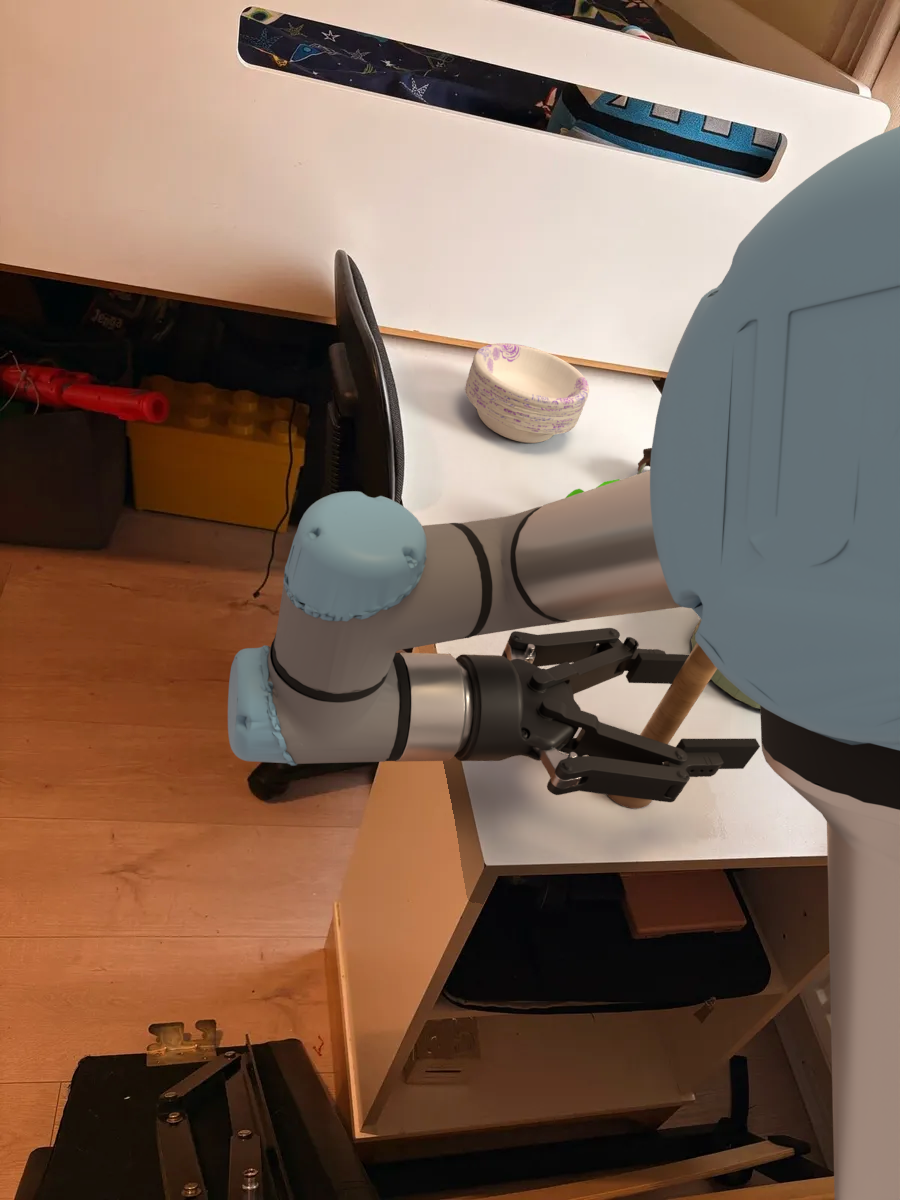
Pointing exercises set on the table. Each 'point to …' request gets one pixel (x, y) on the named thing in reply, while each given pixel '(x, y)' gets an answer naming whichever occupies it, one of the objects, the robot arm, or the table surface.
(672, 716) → the brown rod with base
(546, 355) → the paper bowls
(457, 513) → the table surface
